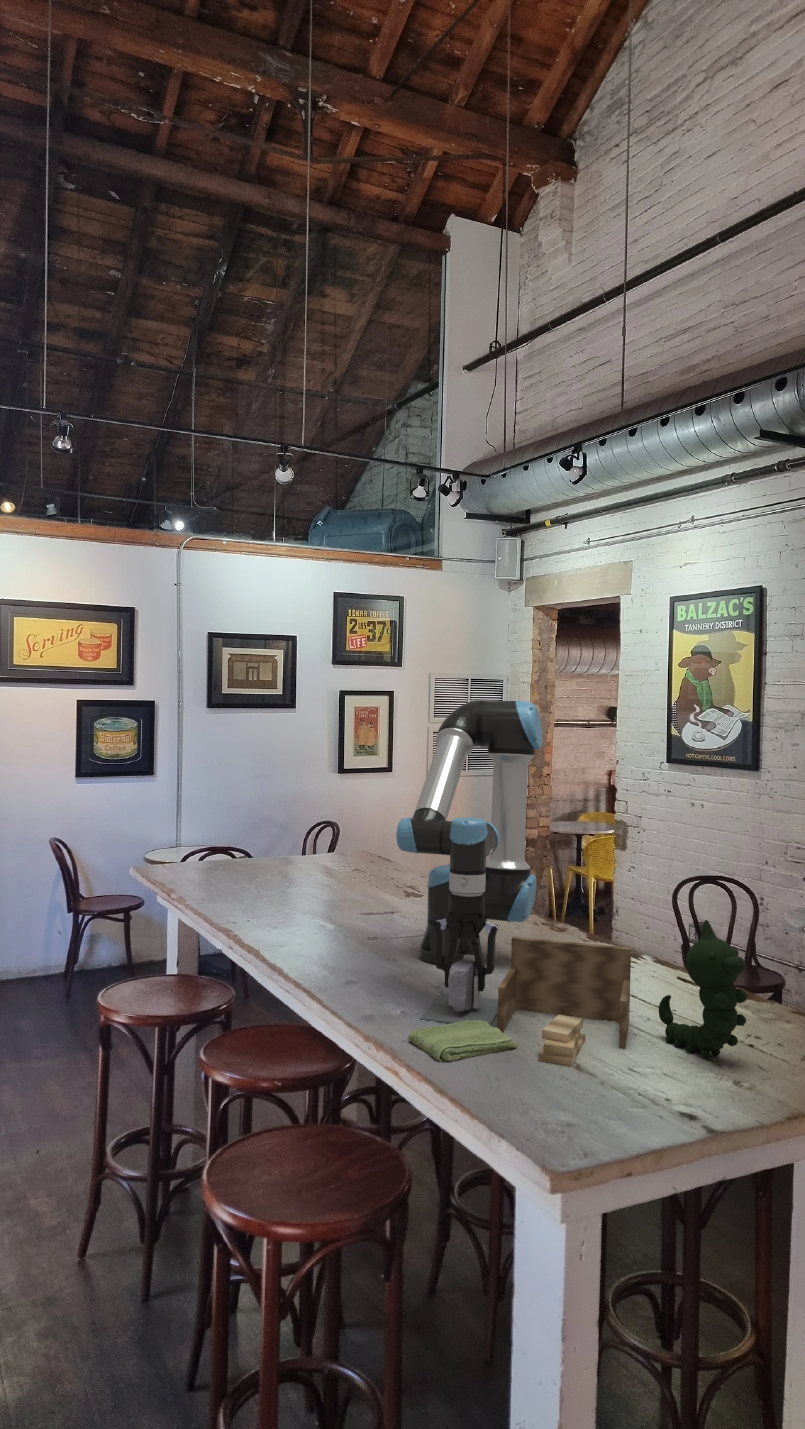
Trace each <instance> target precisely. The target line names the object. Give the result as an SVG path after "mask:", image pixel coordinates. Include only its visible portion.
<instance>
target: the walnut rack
mask: <svg viewBox="0 0 805 1429" xmlns="http://www.w3.org/2000/svg"><path fill="white" fill-rule="evenodd" d="M510 942H511V957H510V958H511V959H510V969H509V970H508V972H507V973H506V975H505V976H504V978H503V979H502V981H501V982H500V984H499V986H498V988H497V989H498V991H497V995H498V996H497V999H498V1015H497V1021H496V1023H497V1024H496V1025H497V1026H496V1028H498V1029H499V1030H500V1031H501V1032H502V1033H503V1034H504V1033H505V1030H507V1029H506V1028H507V1026H508V1025H509V1023H510V1021H511V1020H512V1018H513V1015H514V1013H515V1012H516V1011H517V1010H518V1011H525V1012H532V1013H540V1014H547V1015H549V1014H550V1015H557V1016H558V1015H565V1016H570V1017H571V1016H574V1017H576V1018H582V1019H587V1018H588V1020H589V1019H590V1020H598V1021H603V1020H607V1021H606V1022H611V1021H615V1022H614V1023H619V1026H618V1027H619V1028H618V1030H619V1031H618V1049H623V1050H626V1048H627V1040H628V1034H629V1033H628V1031H629V1025H630V1008H631V1006H630V1005H631V1004H630V1003H631V1002H630V1001H631V975H632V974H631V971H632V970H631V967H632V966H631V965H632V964H631V963H632V947H629V946H628V947H627V946H626V947H625V946H617V945H604V944H596V943H595V944H594V943H583V942H572V941H562V940H551V939H541V938H531V937H518V936H512V937H511V941H510Z"/></svg>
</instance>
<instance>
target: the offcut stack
mask: <svg viewBox="0 0 805 1429" xmlns="http://www.w3.org/2000/svg"><path fill="white" fill-rule="evenodd" d="M583 1028H584V1018H579V1017H571V1016H565V1015H557V1016H555V1017H554V1018H553V1019H552V1020H551V1021H550V1022H549V1023H548V1024H547V1025H546V1026H545V1027H544V1028H542V1030H541V1039H543V1040H545V1041H544V1043H543V1046H542V1047H541V1049H540V1050H539V1052H538V1056H537V1057H538V1062H542V1063H547V1064H555V1065H559V1066H567V1067H573V1065H574V1063H575V1061H576V1059H577V1057H578V1055H579V1053H580V1052H581V1049H582V1047H583V1046H584V1044H585V1042H586V1033H584V1032H583V1033H582V1032H581V1030H582V1029H583Z"/></svg>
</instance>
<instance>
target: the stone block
mask: <svg viewBox="0 0 805 1429" xmlns="http://www.w3.org/2000/svg"><path fill="white" fill-rule="evenodd" d="M477 973H478V972H477V967H476V962H475V957H474V955H465V956H464V958H463V960H461V961H458V962H456V963H454V964H453V965H452V966H451V968H450V971H449V978H448V984H449V986H448V987H449V988H447V989H448V994H450V1002H451V1005H452V1007H453V1009H454V1010H455V1011H458V1012H461V1011H468V1010H470V1009H471V1006H472V1005H473V1003H474V976H475V975H476V974H477Z"/></svg>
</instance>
